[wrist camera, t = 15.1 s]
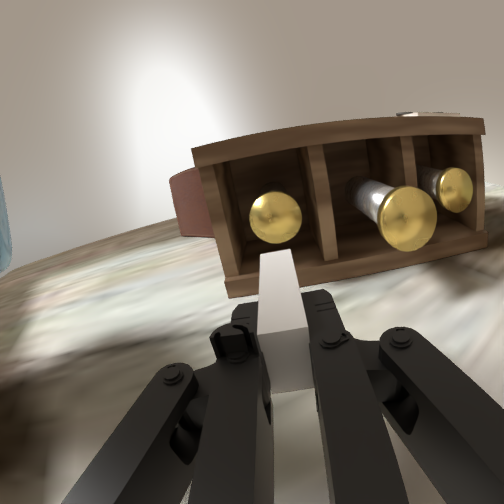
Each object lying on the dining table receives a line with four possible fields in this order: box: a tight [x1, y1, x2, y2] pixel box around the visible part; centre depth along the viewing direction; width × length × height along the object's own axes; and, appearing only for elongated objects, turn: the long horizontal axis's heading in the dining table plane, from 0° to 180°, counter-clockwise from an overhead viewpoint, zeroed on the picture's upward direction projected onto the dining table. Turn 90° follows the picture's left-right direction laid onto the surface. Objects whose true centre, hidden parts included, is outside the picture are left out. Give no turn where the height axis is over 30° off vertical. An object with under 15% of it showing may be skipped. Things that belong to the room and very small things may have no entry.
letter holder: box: [169, 167, 215, 238], centre depth 56 cm, size 10×20×14 cm, turn 51°
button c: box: [250, 182, 302, 243], centre depth 32 cm, size 13×5×5 cm, turn 177°
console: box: [191, 112, 488, 298], centre depth 32 cm, size 14×33×17 cm, turn 87°
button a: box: [416, 165, 473, 213], centre depth 30 cm, size 13×5×5 cm, turn 177°
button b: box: [345, 176, 437, 252], centre depth 24 cm, size 13×5×5 cm, turn 177°
